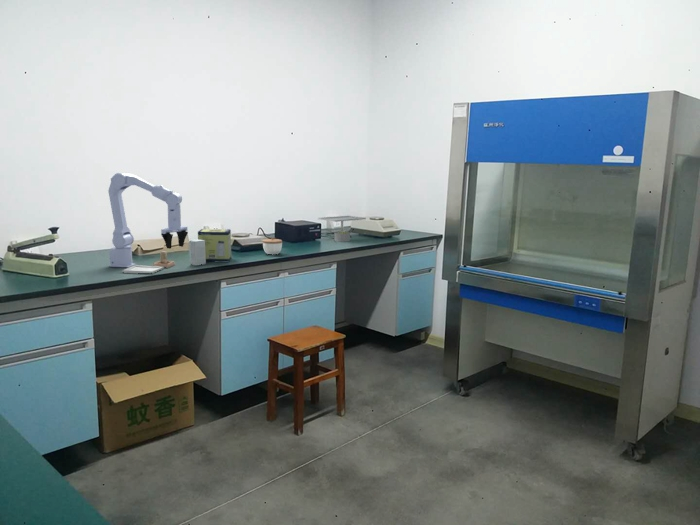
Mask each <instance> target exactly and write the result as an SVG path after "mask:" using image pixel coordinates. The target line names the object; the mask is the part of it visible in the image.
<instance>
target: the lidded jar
mask: <svg viewBox="0 0 700 525" xmlns="http://www.w3.org/2000/svg"><path fill="white" fill-rule="evenodd" d="M282 247H283V240H282V239H279V238H274V237H273V236H272V237H271V238H267V239H266V238H265V239H262V248H263V250H264V252H265V253H266V254H267V255H268V254H272V255H271V256H274V255H273V254H277V255H278V254H279V253H281V251H282Z"/></svg>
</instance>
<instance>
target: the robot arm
mask: <svg viewBox="0 0 700 525" xmlns="http://www.w3.org/2000/svg"><path fill="white" fill-rule="evenodd" d="M131 186H136V187H139V188H140V189H143V190H145V191H148V192H150V193H151V195H152V196H153V197H155V198H157V199H158V200H161V201H162V202H164V203H166V205H167V227H166V228H162V229H161V230H160V233H161V234H160V235H161V237H162V238H163V240H164V244H165V245H166V249H172V240H173V236H174V234H172V233H176V234H177V239H178V246H179V247H184V244H185V240H186V237H187V236H188V233H189V231H188V226H182V221H181V220H182V219H181V218H182V217H181V216H182V215H181V203H182V201H183V197H182V195H181V194H180V193H179V192H175V191H174V192H173V190H172V189H170V190H169V189H167V188H166V187H164V185H162V184H160V185H159V184H156V185H154V184H152V183H150V182H148V181H146V180H144V179H142V178H141V177H139V176H137V175H135V174H132V173H130V172H124V173H123V172H122V173H119V172H117V173H115V174H114V175H113V176H112V177H111V178H110V184H109V187H108V190H107V191H108V196H109V203H110V208H111V212H112V213H111V214H112V220H113V224H114V230H113V233H112V240H111V241H112V244H113V247H111V248H110V250H109V264H110V265H109V267H111V268H129V267H132V266H135V265H137V263H134V262H133V251H132V250H133V247H132V244H133V243H134V239H135V238H134V236H133V234H132V233H131V229H130V228H129V227H128V223H127V218H126V213H125V212H126V211H125V207H124V201H123V196H122V194H123V193H124V191H125V190H126V189H127V188H129V187H131Z"/></svg>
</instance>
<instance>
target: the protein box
mask: <svg viewBox="0 0 700 525" xmlns="http://www.w3.org/2000/svg"><path fill="white" fill-rule="evenodd" d="M231 234H232V232H231V229H230V228H227V229H226V228H225V229H224V228H223V229H222V228H220V229H218V228H217V229H214V228H213V229H212V228H210V229H209V228H200V230H198V231H197V240H205V255H206V263H210V261H211V263H216V262H215V261H229V260H230V261H231V259H232V236H231ZM230 261H229V262H230Z"/></svg>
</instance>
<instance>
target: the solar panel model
mask: <svg viewBox="0 0 700 525" xmlns="http://www.w3.org/2000/svg"><path fill="white" fill-rule="evenodd" d="M317 220H319V221H328V222H334V223H335V222H340V231H334V242H338V243H343V242H350V241H351V232H350V231H344V222H349V221H361V220H367V217H362V216H354V215H339V216H327V217H325V216H324V217H317Z"/></svg>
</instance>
